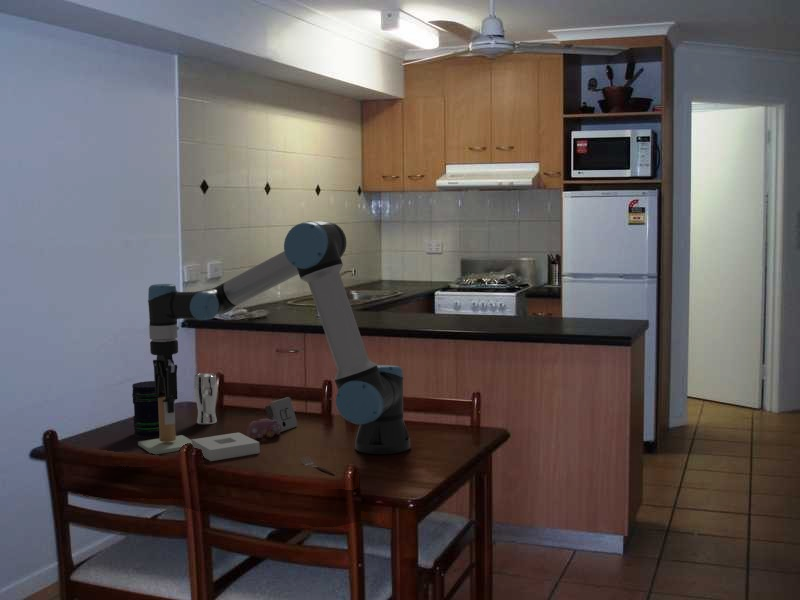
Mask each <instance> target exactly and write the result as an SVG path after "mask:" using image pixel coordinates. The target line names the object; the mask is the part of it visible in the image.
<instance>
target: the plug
mask: <svg viewBox="0 0 800 600" xmlns="http://www.w3.org/2000/svg"><path fill="white" fill-rule="evenodd" d="M163 400H165V396H163V397H159V398H158V412H159V436H158V437H159V438H160V441H162V442H170V441H174V440H176V436H177V433H176V423H175V424H169V425H165V412H164V402H163Z"/></svg>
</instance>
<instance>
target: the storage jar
mask: <svg viewBox="0 0 800 600" xmlns="http://www.w3.org/2000/svg"><path fill="white" fill-rule="evenodd" d="M131 394H132V396H131V397H132V404H133V413H134V415H133V418H132V420H133V427H134V428H133V430H134V436H135V437H138V438H147V439H148V438H157V437H159V412H158V397H157V394H155V380H150V381H149V380H147V381H139V382H136V383H135V382H134V383H133V384H132V393H131Z"/></svg>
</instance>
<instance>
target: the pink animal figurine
mask: <svg viewBox="0 0 800 600" xmlns="http://www.w3.org/2000/svg"><path fill="white" fill-rule="evenodd" d="M272 419H273V418H272ZM265 430H266V432H265V435H266V437H267V438H273V437H274V436H275V435H276V436H278V435H280V434H281V432H280V431H281V424H280V423H279V422H278V421H277V420H276V419H273V420H271V419H268V418H262V419H258V420H252V421H251V422H250V423H249V425H248V426H247V429H246V436H247V437H250V438H251V437H252V435H253V436H255V438H256V439H262V438H263V437H264V432H263V431H265Z"/></svg>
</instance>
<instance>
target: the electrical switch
mask: <svg viewBox="0 0 800 600" xmlns="http://www.w3.org/2000/svg"><path fill="white" fill-rule="evenodd" d="M264 408H265V412H266V416H267V419H271V420H273V419H276V420H277V421H278V422H279V423H280V424H281V431H280V433H282V432H283V433H284V432H285V431H288V430H291V429H293V428H295V427H298V421H297V417H296V414H295V410H294V407H293V402H292V398H291V397H289V396H286V397H284V398H281V399H278V400H274V401H271V402H270V404H269V405H266V406H264Z"/></svg>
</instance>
